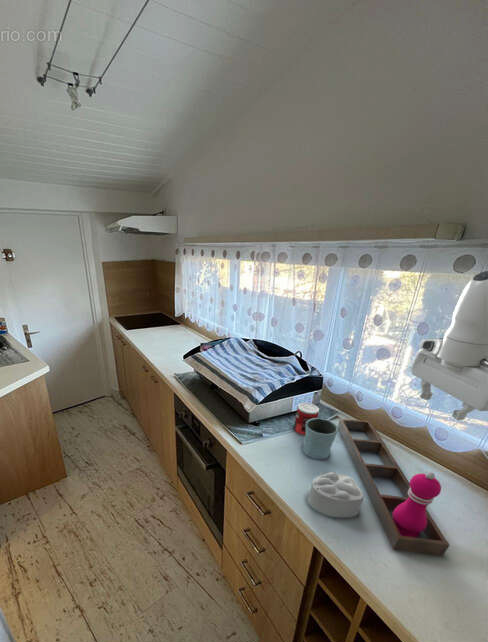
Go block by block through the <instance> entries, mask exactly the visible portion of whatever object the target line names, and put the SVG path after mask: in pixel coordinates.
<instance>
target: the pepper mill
mask: <svg viewBox="0 0 488 642" xmlns="http://www.w3.org/2000/svg"><path fill="white" fill-rule="evenodd" d="M409 483H410V488H409V491H408V495H409V497H408V498H407V500H406V501H405V502H403V503H402V504H400V505H398V506H397V507H396V508H395V509H394V510H393V511H392V514H391V517H392V519H393V521H394V523H395V525H396V527H397V529H398V531H399V533H400V535H401V536H407V537H415V538H419V536H420V533H422V532H424V531H423V530H424V529H425V528H426V525H427V517H426V512H425V511H426V509H427V507H428V505H431V504H433V502H434V500H435V498H437V497H439V495H440V494H441V492H442V486H441V483H440V482H439V480H438V479H437V478H436V475H435V473H434V472H432V471H426V472H425V473H416V474H415V475H413V476H412V477H411V478H410V480H409Z"/></svg>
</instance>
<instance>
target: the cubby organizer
mask: <svg viewBox="0 0 488 642" xmlns="http://www.w3.org/2000/svg"><path fill="white" fill-rule="evenodd" d="M337 427H338V432H339V434H340V436H341V437H342V440H343V442H344V445H345V447H346V450H347V451H348V454H349V456H350V458H351V460H352V462H353V465H354V467H355V469H356V472H357V473H358V476H359V478H360V480H361V482H362V484H363V486H364V489H365V491H366V493H367V496H368V498H369V500H370V503H371V505H372V507H373V509H374V511H375V513H376V516H377V517H378V520H379V522H380V524H381V527H382V529H383V531H384V533H385V535H386V537H387V540H388V542H389V544H390V547H391V549H392V550H393V551H401V552H406V553H413V554H414V553H415V554H421V555H428V556H434V557H435V556H436V557H444V556H445V554H446V552H447V550H448V549H449V548H450V544H449V541H447V539H446V537H445V536H444V534H443V533H442V531H441V530H440V528H439V527H438V525H437V524H436V522H435V520H434V519H433V517H432V515H431V514H430V512H429V511H428V510H427V508H426V511H425V512H426V517H427V525H426V528H425V529H424V530H423V531H422V532H423V533H424V534H425V536H426V537H427V538H423V537H417V538H415V537H407V536H401V535H400V533H399V531H398V529H397V527H396V525H395V523H394V521H393V516H392V514H391V513H390V511H389V510H393V511H394V509H395V508H396V507H397V506H398V505H400V504H402V503H403V502H405V501H406V500H407V498H408V497H409V495H408V491H409V488H410V480H409V479H408V478H407V476H406V475H405V474H404V472H403V470H402V469H401V467H400V465H399V463H398V462H397V461H396V459H395V458H394V456H393V455H392V453H391V451H390V450H389V448H388V447H387V445H386V444H385V442H384V441H383V439H382V438H381V436H380V434H379V433H378V431H377V430H376V428H375V427H374V425H373V423H372V422H371V420H361V419H349V418H339V421H338V425H337ZM350 431H359V432H365V433H366V435H367V437H368V439H361V438H353V437H352V434H351V432H350ZM360 452H370V453H377V454H378V456H379V457H380V459H381V460H382V462H383V464H376V463H366V462H365V460H364V458H363V456H362V455H361V453H360ZM373 477H374V478H385V479H392V480H393V481H394V483H395V485H396V487H397V488H398V491H400V493H401V495H402V496H397V495H390V494H389V495H387V494H381V493H380V491H379V489H378V487H377V485H376V482H375V481H374V479H373Z"/></svg>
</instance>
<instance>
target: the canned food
mask: <svg viewBox="0 0 488 642" xmlns="http://www.w3.org/2000/svg"><path fill="white" fill-rule="evenodd" d="M319 413H320V407H318V406H317V405H316V404H314V403H311V402H301V403H299V404H298V405H297V407H296V412H295V419H294V425H293V429H294V431H295V432H296V433H297V434H299V435H302V436H305V435H306V433H305V432H306V422H307V421H308V420H310V419H312V418H319Z"/></svg>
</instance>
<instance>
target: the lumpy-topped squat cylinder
mask: <svg viewBox="0 0 488 642" xmlns="http://www.w3.org/2000/svg"><path fill="white" fill-rule="evenodd" d="M357 483H358V482H357V481H356V480H355V479H354V478H353V477H351V476H349V475H346V474H340V473H336V472H333V471H330V472H327V473H325V474H324V473H323V474H321V475H319V476H316V477H315V478H314V479H313V481H312V482H311V485H310V490H309V493H308V498H307V503H308V504H309V506H310V507H311V508H312V509H314V510H315V511H317V512H318V513H320V514H322V515H325V516H328V517H331V518H353V517H356V516H357V515H358V514H359V512H360V509H361V507H362V503H363V501H364V498H365V494H364V492H363V491H362V489H361V488H360V487H359V486H358V484H357Z"/></svg>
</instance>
